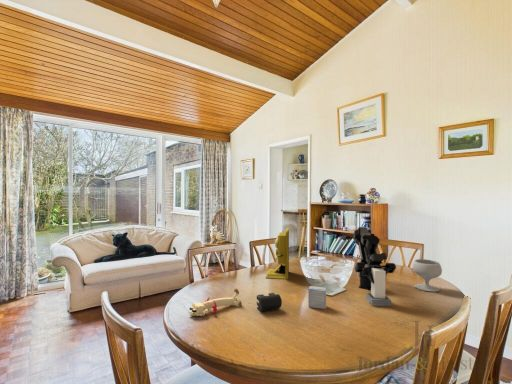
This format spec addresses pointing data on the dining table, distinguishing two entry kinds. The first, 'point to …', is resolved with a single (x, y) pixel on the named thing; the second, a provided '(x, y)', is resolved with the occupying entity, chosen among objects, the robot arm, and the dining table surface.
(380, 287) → the block
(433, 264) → the chalice
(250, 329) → the dining table surface
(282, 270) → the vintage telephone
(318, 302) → the medicine box
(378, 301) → the dock tray
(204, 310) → the cat figure
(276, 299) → the end cap
